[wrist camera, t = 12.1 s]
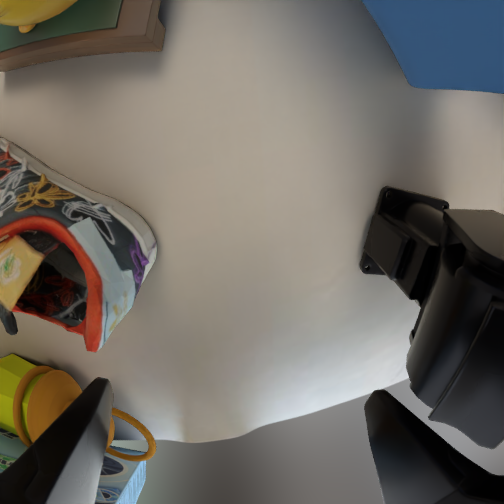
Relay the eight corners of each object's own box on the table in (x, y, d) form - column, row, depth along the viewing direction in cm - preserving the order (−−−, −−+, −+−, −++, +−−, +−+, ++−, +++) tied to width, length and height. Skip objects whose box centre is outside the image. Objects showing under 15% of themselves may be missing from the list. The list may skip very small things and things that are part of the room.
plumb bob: (1, 385, 25) (173, 439, 25) (-36, 421, 16) (152, 508, 16) (-20, 324, 23) (162, 371, 23) (-67, 356, 14) (127, 448, 14)
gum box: (146, 451, 32) (113, 510, 12) (146, 482, 29) (118, 560, 10) (24, 418, 28) (-78, 417, 8) (24, 448, 26) (-73, 465, 6)
